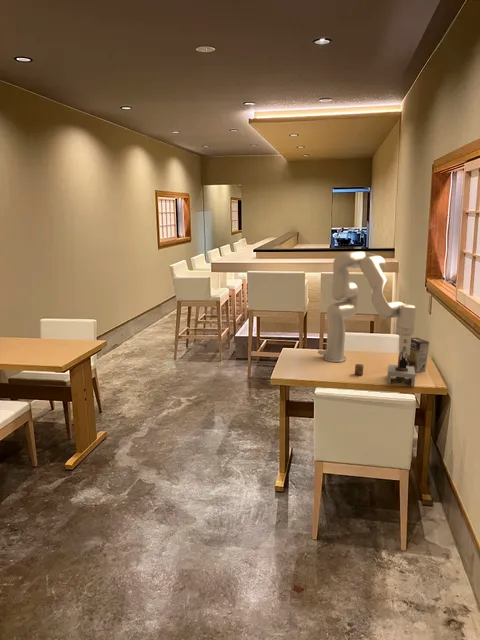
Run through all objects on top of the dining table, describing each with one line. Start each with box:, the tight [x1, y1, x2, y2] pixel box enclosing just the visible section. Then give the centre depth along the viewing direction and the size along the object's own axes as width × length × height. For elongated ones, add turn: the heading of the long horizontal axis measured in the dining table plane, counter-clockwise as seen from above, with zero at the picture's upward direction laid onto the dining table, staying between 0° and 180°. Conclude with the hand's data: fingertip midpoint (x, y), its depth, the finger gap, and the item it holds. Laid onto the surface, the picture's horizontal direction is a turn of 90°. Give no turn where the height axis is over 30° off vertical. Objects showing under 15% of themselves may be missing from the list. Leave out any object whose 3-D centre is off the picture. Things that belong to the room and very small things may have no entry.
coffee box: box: [406, 336, 430, 374], centre depth 261 cm, size 9×6×16 cm
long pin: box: [395, 353, 407, 383], centre depth 243 cm, size 4×4×15 cm
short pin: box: [354, 363, 364, 377], centre depth 252 cm, size 4×4×5 cm
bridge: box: [387, 363, 416, 387], centre depth 244 cm, size 12×12×6 cm
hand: (402, 364), depth 243 cm, fingers open, 9 cm apart
